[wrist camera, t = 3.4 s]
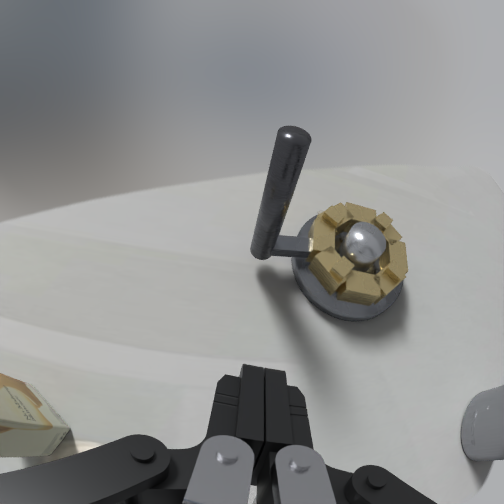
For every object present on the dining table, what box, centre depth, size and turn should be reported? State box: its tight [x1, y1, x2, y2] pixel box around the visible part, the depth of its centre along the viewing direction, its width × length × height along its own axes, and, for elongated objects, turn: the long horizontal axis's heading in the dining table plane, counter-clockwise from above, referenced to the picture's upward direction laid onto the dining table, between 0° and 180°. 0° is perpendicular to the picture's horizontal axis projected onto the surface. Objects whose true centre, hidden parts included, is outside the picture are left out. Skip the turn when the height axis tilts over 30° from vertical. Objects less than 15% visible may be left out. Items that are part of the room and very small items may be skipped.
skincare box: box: [0, 373, 70, 457], centre depth 15 cm, size 6×4×12 cm
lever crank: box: [250, 126, 408, 306], centre depth 26 cm, size 16×11×14 cm, turn 80°
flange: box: [291, 211, 403, 321], centre depth 31 cm, size 13×13×6 cm
